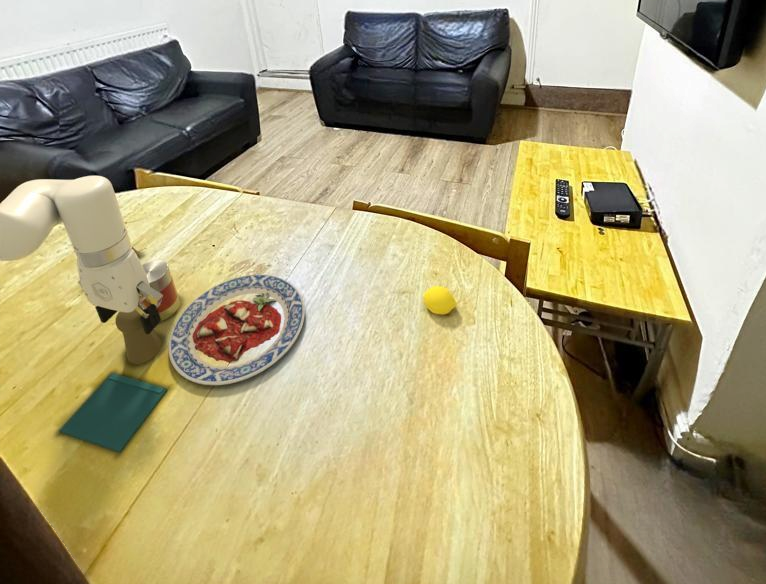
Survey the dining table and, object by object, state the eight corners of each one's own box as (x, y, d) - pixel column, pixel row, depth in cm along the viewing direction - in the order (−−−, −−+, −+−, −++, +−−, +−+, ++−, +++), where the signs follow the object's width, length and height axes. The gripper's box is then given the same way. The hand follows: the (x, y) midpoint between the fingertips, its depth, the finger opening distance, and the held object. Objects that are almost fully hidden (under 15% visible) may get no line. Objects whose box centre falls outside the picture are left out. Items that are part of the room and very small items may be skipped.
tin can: (137, 321, 86) (121, 281, 81) (161, 296, 92) (148, 257, 87) (164, 328, 84) (150, 287, 79) (187, 302, 90) (175, 262, 86)
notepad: (61, 435, 66) (58, 429, 65) (113, 377, 75) (111, 371, 74) (121, 456, 63) (118, 450, 62) (168, 392, 72) (166, 387, 71)
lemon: (419, 315, 85) (419, 295, 82) (426, 295, 89) (427, 276, 87) (452, 325, 82) (453, 305, 80) (458, 304, 87) (459, 285, 85)
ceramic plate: (210, 425, 66) (206, 413, 65) (149, 334, 83) (145, 324, 81) (331, 323, 83) (330, 312, 82) (261, 265, 100) (259, 255, 98)
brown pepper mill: (120, 361, 77) (102, 319, 73) (147, 335, 82) (131, 294, 78) (144, 371, 75) (127, 328, 71) (170, 343, 81) (155, 302, 76)
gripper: (42, 253, 67) (75, 329, 74) (128, 272, 63) (155, 350, 70) (83, 226, 74) (111, 297, 81) (163, 241, 70) (185, 315, 77)
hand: (131, 322), depth 75 cm, fingers open, 9 cm apart
